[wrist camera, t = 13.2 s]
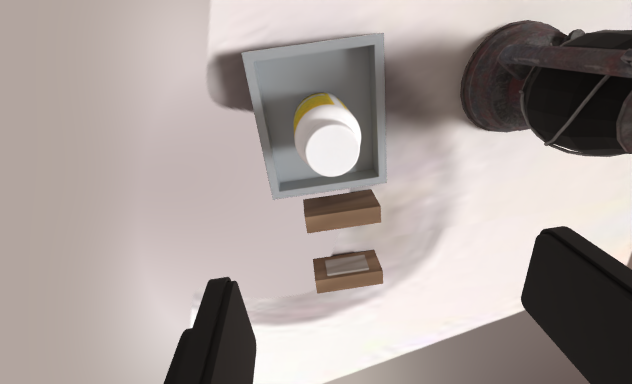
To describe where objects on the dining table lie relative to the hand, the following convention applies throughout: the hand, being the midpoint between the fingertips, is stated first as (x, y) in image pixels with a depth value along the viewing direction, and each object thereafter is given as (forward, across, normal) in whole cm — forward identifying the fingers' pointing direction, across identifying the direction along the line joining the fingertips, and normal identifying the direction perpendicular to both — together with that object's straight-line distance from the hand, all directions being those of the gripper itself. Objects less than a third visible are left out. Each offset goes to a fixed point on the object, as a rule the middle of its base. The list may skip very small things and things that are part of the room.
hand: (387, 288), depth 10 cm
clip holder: (+24, -1, +15) cm, 28 cm away
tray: (+24, 0, 0) cm, 24 cm away
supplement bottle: (+24, 0, 0) cm, 24 cm away
